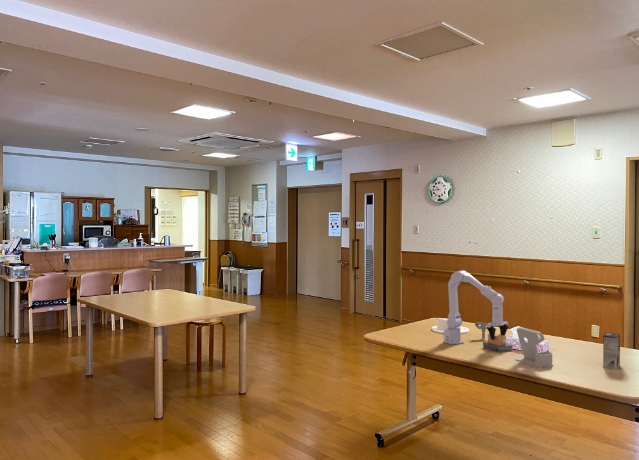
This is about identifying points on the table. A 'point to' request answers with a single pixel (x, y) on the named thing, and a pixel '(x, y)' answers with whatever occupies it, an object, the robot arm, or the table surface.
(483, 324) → the mechanical component
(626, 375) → the table surface
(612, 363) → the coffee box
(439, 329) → the dish
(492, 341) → the housing
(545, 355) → the phone holder
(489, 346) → the dark grey flat block
